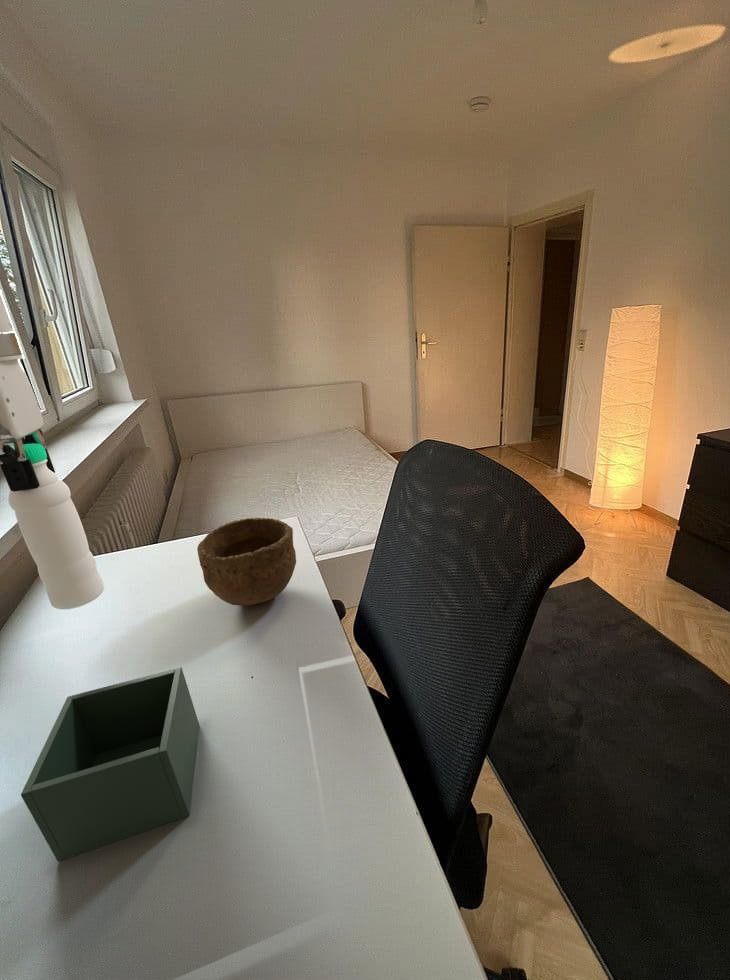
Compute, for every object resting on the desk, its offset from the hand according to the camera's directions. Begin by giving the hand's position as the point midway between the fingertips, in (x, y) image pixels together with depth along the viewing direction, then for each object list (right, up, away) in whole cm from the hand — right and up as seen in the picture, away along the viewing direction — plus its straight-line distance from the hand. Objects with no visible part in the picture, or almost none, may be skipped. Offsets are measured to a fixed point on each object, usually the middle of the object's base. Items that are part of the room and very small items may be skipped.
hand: (34, 481), depth 63 cm
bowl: (+21, -24, +32) cm, 46 cm away
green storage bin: (+19, -39, -6) cm, 44 cm away
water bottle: (+1, -19, +7) cm, 20 cm away
